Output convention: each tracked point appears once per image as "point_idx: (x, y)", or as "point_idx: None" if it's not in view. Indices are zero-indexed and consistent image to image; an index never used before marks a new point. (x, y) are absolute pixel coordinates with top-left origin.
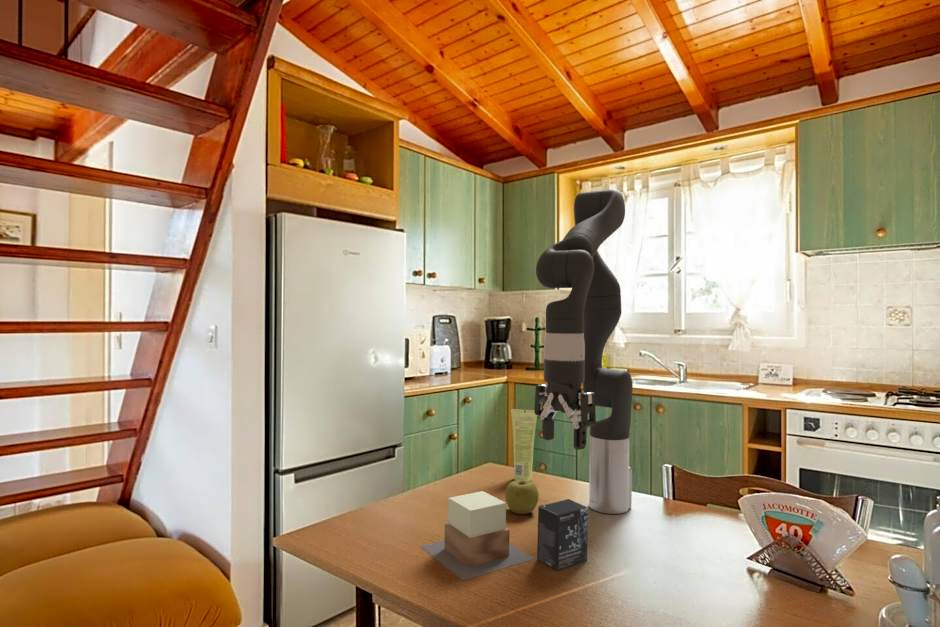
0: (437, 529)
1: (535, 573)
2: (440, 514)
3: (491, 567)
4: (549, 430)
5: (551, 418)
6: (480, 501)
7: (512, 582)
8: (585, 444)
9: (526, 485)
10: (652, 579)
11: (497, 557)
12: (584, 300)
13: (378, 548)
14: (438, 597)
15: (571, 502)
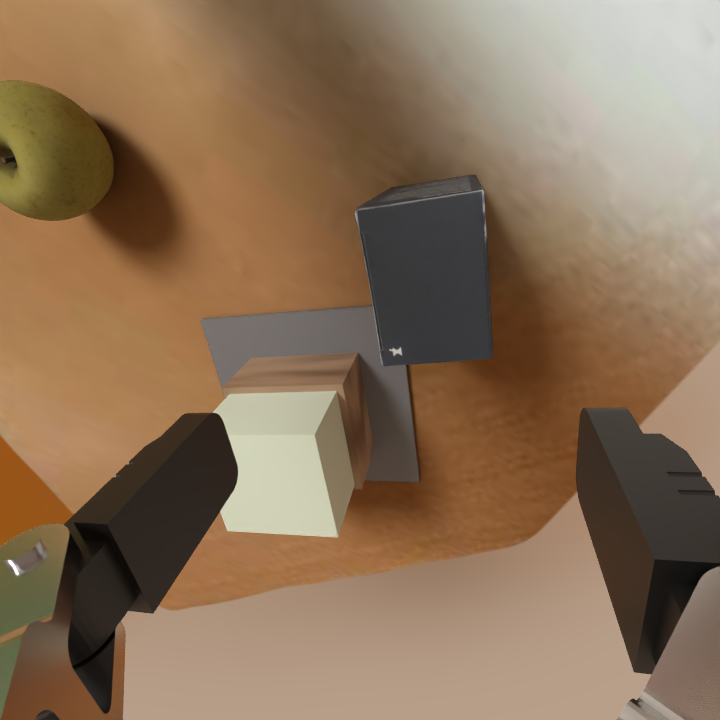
0: (168, 409)
1: None
2: (83, 366)
3: (394, 413)
4: (190, 496)
5: (94, 563)
6: (279, 485)
7: (467, 404)
8: (673, 450)
9: (30, 158)
10: (688, 29)
11: (362, 385)
12: None
13: None
14: (448, 530)
15: (402, 226)
